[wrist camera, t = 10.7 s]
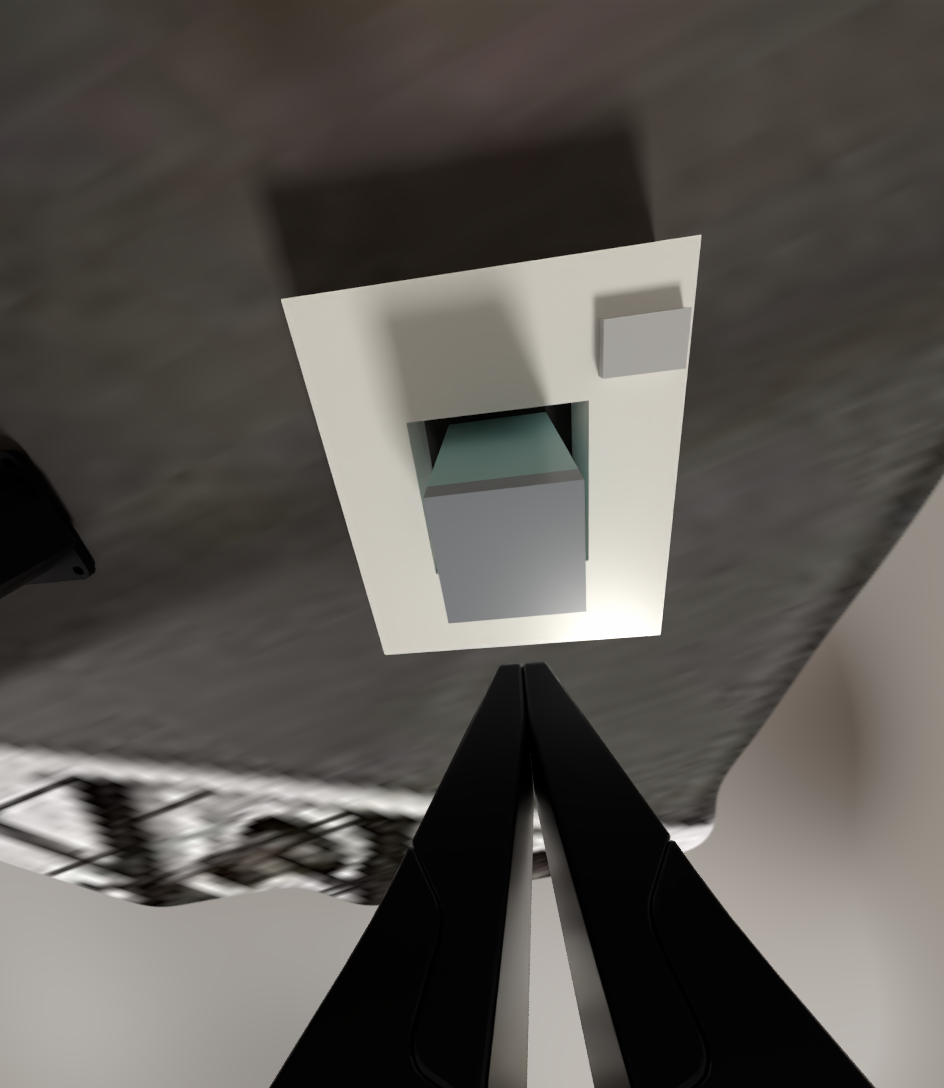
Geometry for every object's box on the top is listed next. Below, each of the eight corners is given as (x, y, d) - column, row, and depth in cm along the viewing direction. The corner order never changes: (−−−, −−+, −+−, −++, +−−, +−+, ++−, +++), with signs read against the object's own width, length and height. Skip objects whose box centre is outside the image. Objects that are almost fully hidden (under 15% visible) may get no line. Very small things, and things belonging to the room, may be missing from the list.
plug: (462, 512, 20) (448, 623, 13) (448, 424, 18) (423, 498, 11) (550, 502, 19) (586, 611, 12) (545, 411, 17) (584, 479, 10)
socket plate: (399, 607, 22) (382, 664, 19) (321, 301, 16) (271, 298, 12) (635, 588, 21) (665, 644, 18) (657, 250, 15) (711, 231, 11)
